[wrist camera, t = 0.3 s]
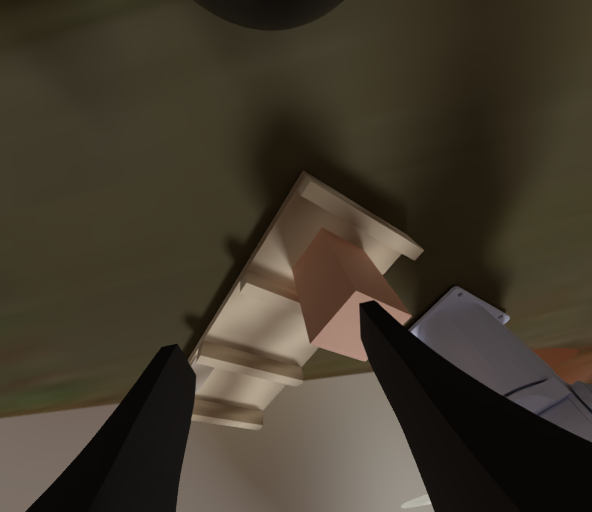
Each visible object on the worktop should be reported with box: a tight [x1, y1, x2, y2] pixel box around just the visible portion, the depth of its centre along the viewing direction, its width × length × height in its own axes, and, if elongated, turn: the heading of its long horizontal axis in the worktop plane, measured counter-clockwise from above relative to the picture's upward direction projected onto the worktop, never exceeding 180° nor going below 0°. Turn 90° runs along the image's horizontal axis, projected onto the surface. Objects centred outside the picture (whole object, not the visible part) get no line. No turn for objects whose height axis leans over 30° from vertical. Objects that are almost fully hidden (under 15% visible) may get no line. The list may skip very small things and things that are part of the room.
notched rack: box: [188, 170, 424, 430], centre depth 23 cm, size 10×25×2 cm, turn 148°
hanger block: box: [292, 228, 412, 362], centre depth 17 cm, size 4×4×7 cm
